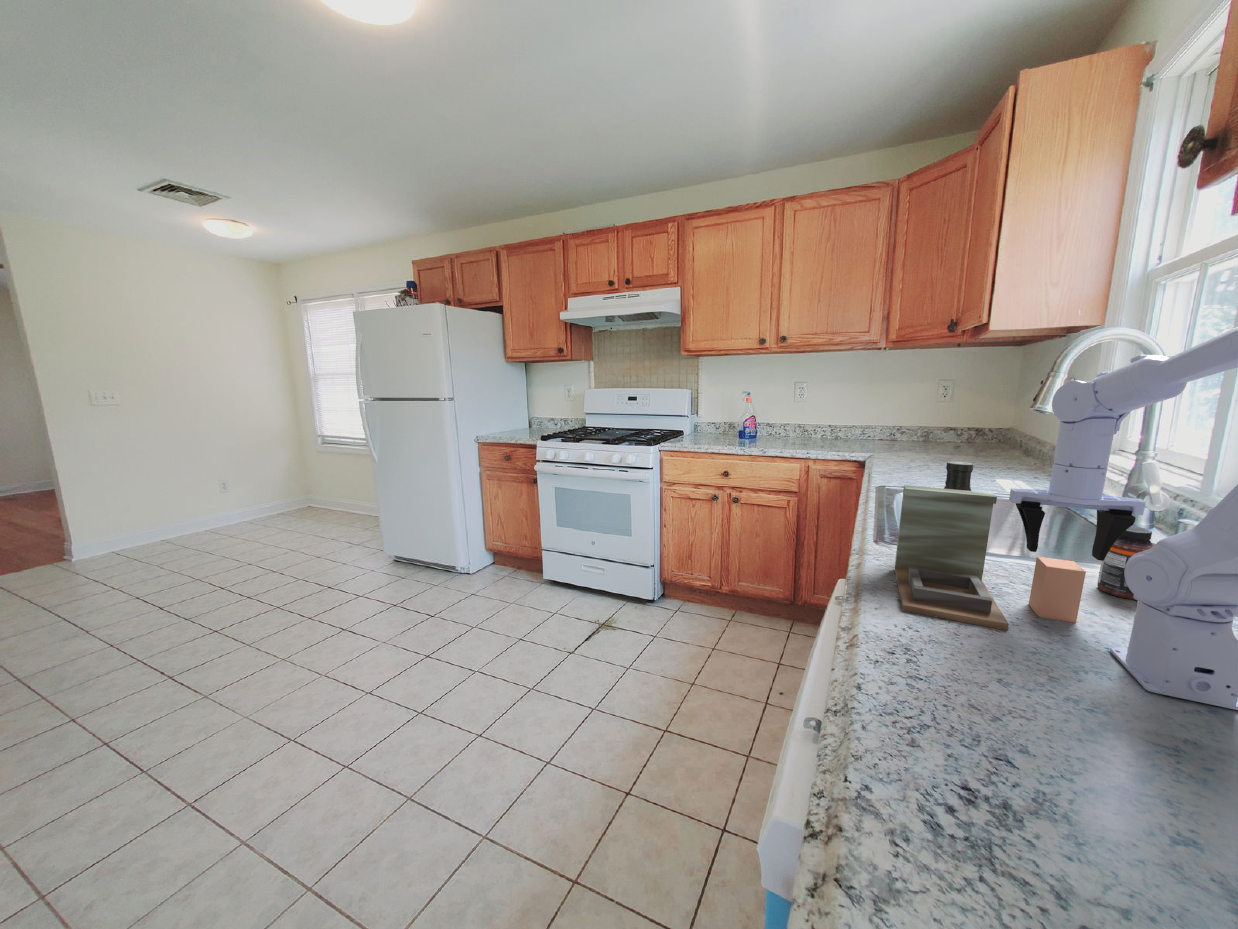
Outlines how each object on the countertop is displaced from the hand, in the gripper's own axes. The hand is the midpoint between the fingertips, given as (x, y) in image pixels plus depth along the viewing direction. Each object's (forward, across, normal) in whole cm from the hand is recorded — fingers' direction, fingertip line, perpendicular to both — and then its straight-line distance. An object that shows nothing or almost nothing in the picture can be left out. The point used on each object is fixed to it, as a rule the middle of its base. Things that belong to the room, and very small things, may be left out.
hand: (1063, 554), depth 72 cm
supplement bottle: (+10, -12, -14) cm, 21 cm away
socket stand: (+9, +14, +1) cm, 17 cm away
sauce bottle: (+10, +12, -15) cm, 21 cm away
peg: (+9, 0, 0) cm, 9 cm away
